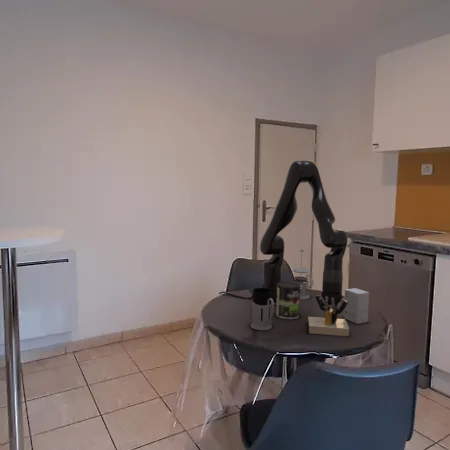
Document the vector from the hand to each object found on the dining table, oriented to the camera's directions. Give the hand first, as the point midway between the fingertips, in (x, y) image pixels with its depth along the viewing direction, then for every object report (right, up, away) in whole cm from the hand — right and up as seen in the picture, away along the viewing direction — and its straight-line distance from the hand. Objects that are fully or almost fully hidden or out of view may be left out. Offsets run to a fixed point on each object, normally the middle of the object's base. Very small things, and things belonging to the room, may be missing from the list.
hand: (330, 321), depth 152 cm
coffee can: (-15, -2, +17) cm, 22 cm away
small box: (+14, -3, +12) cm, 19 cm away
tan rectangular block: (0, 0, 0) cm, 0 cm away
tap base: (-1, -3, 0) cm, 3 cm away
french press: (-2, +1, +47) cm, 47 cm away
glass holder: (-27, -3, +1) cm, 27 cm away
